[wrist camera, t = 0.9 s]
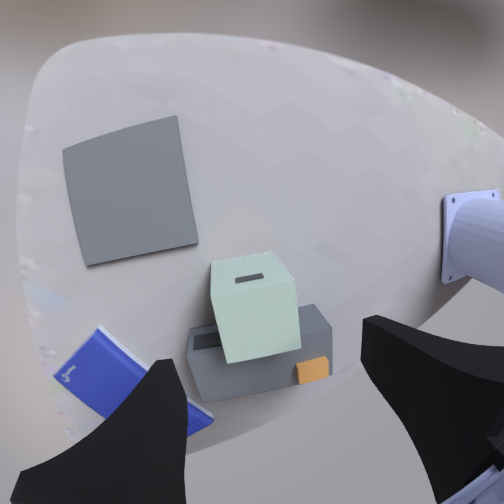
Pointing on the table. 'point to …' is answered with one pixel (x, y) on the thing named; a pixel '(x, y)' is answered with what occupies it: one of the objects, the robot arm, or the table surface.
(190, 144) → the table surface
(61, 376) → the blue book
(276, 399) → the table surface
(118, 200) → the mat
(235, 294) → the block
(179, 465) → the robot arm
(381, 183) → the table surface
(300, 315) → the power strip
